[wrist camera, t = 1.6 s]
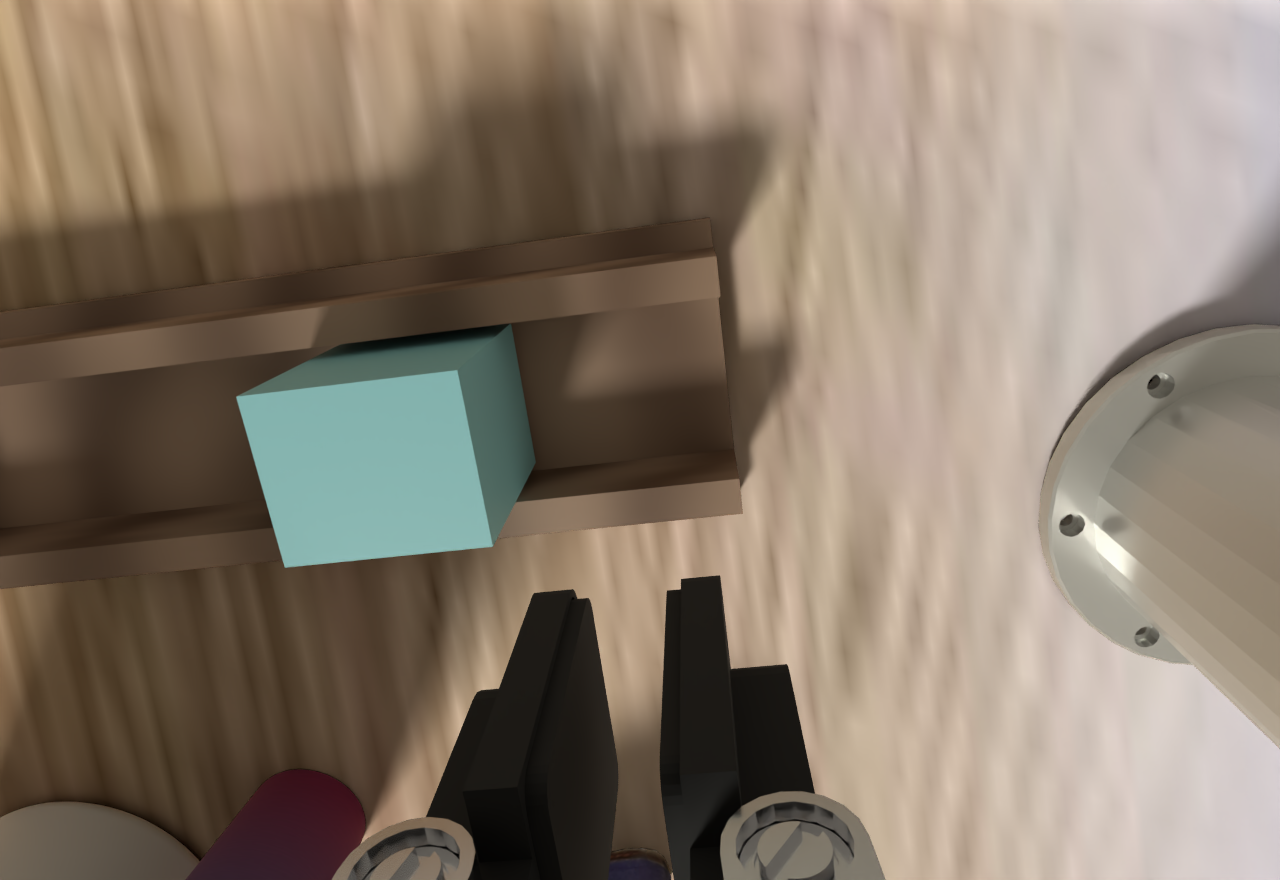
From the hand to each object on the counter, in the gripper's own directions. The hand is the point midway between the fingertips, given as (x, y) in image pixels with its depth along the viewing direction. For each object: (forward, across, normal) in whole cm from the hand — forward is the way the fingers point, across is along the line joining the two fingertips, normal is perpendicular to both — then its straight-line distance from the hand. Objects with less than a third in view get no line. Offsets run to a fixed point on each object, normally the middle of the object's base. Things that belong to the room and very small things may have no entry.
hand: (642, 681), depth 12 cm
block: (+18, +8, 0) cm, 20 cm away
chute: (+19, +13, 0) cm, 23 cm away
